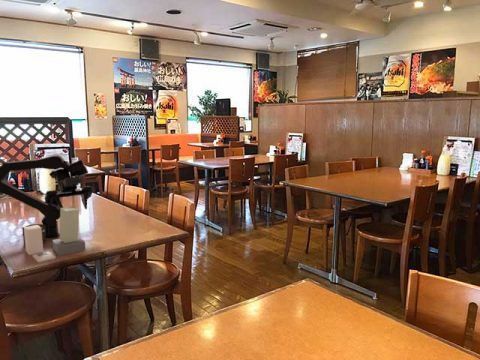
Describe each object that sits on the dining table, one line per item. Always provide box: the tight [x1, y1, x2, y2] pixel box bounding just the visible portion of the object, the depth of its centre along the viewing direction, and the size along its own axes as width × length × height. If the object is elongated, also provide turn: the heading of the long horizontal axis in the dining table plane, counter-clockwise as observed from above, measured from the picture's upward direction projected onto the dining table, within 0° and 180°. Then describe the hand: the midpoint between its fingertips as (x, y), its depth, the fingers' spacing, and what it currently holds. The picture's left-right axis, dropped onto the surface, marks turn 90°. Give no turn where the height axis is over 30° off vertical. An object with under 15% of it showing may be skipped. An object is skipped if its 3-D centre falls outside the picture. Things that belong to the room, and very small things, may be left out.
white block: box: [23, 225, 44, 256], centre depth 150 cm, size 5×5×10 cm
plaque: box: [31, 251, 56, 264], centre depth 144 cm, size 8×6×1 cm
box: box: [22, 223, 47, 245], centre depth 161 cm, size 6×6×7 cm
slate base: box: [51, 235, 86, 257], centre depth 153 cm, size 10×10×4 cm
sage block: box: [59, 206, 80, 243], centre depth 152 cm, size 5×5×13 cm
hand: (75, 210), depth 160 cm, fingers open, 9 cm apart
